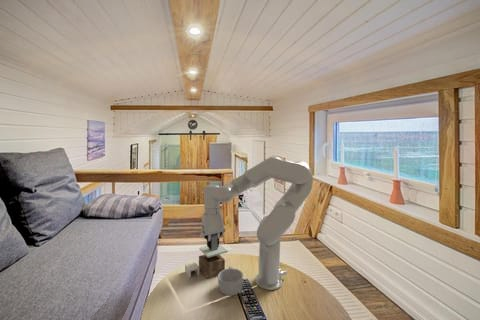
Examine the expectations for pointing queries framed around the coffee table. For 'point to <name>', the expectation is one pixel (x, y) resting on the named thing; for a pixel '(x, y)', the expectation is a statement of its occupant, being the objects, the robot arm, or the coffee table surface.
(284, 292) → the coffee table surface
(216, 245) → the lid
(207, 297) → the coffee table surface
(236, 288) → the teacup
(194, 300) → the coffee table surface
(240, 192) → the robot arm
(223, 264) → the brown wooden box
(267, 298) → the coffee table surface
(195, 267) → the matte white cube
